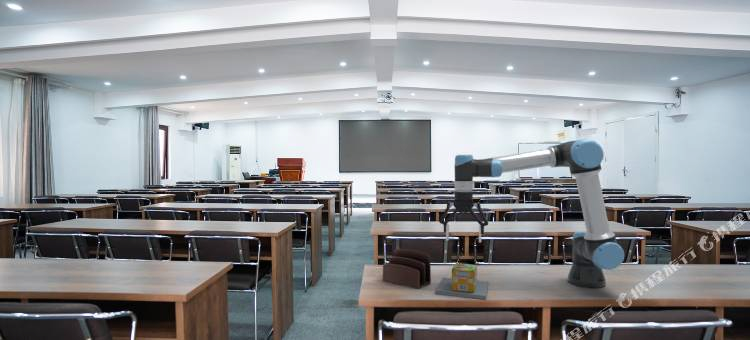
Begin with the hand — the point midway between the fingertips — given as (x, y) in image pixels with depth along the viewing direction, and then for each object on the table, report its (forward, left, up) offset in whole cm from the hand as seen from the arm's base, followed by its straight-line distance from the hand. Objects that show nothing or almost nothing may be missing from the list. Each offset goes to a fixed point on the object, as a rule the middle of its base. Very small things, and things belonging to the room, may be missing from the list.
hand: (463, 241), depth 171 cm
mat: (0, 0, -21) cm, 21 cm away
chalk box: (-1, +9, -15) cm, 17 cm away
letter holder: (+25, -2, -21) cm, 33 cm away
